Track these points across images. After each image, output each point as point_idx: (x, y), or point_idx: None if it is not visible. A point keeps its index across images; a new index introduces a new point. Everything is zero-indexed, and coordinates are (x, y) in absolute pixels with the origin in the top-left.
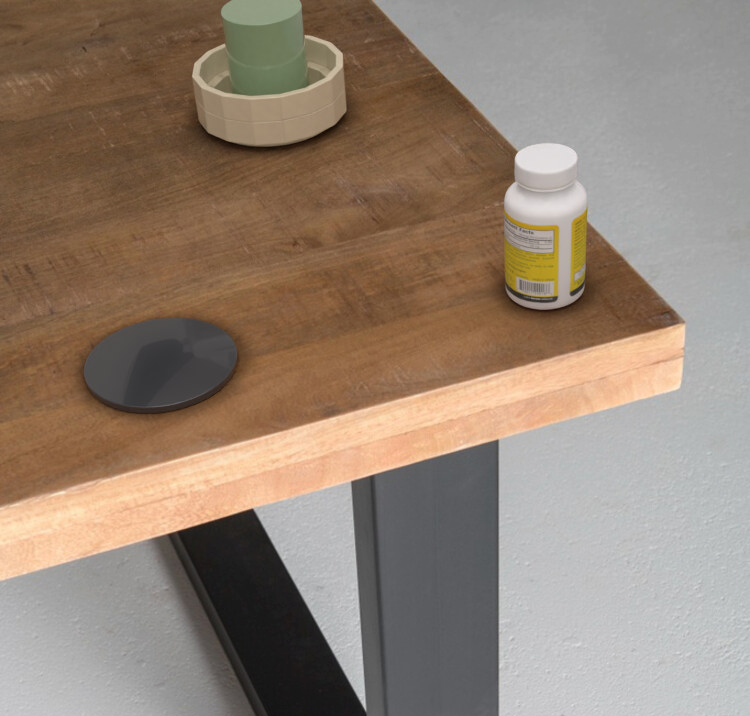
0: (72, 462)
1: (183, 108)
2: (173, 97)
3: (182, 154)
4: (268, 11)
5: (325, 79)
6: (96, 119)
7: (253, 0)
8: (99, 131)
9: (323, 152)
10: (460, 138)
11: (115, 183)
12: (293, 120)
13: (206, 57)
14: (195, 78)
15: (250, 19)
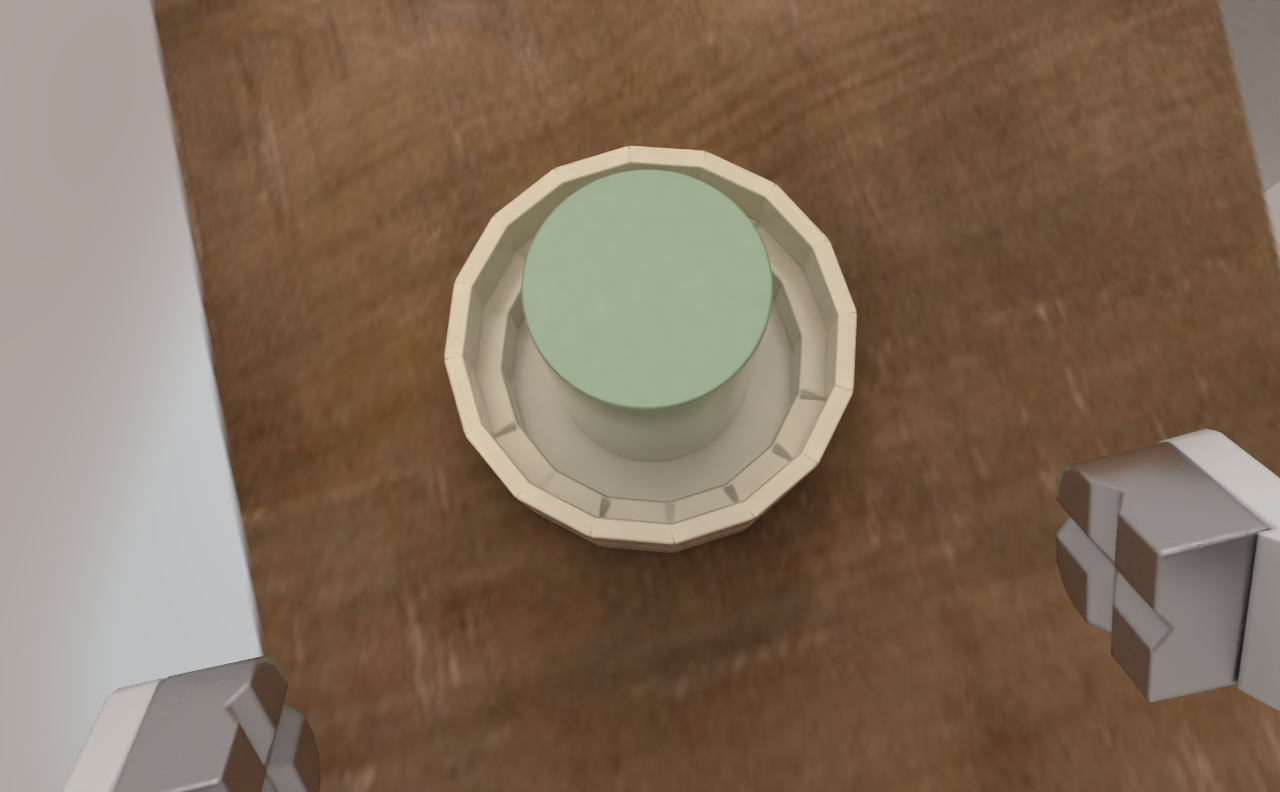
0: None
1: (879, 472)
2: (909, 543)
3: (870, 236)
4: (625, 255)
5: (507, 213)
6: None
7: (668, 350)
8: (1085, 392)
9: None
10: (249, 182)
11: (1013, 137)
12: None
13: (820, 422)
14: (846, 293)
15: (682, 211)
